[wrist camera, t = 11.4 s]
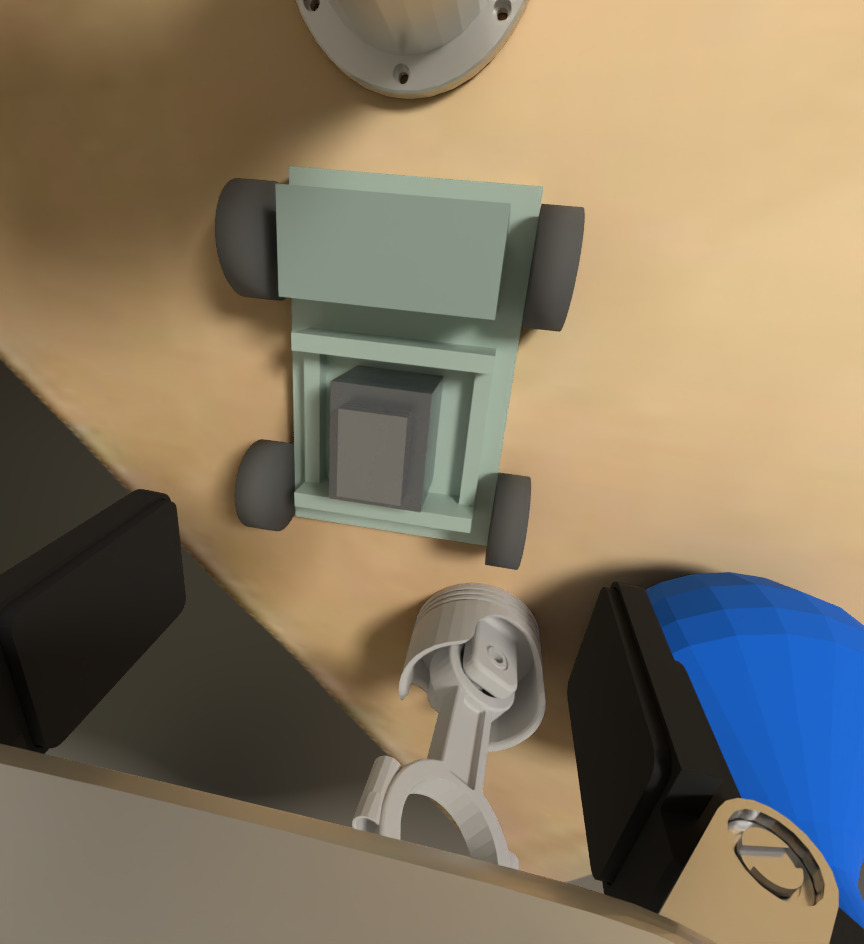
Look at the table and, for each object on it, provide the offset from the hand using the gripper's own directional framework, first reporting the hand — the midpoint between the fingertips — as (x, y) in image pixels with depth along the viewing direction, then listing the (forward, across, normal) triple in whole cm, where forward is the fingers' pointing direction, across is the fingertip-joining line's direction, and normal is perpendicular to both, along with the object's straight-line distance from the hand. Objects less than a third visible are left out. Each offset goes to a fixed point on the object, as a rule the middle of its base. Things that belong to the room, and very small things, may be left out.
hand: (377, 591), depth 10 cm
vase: (+22, -20, +17) cm, 34 cm away
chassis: (+23, +4, +1) cm, 23 cm away
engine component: (+22, -4, +21) cm, 31 cm away
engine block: (+21, +4, +4) cm, 22 cm away
